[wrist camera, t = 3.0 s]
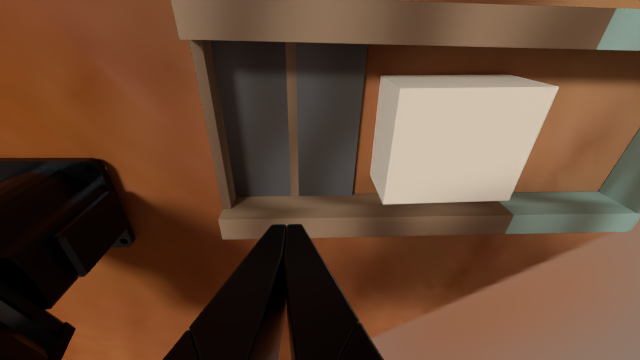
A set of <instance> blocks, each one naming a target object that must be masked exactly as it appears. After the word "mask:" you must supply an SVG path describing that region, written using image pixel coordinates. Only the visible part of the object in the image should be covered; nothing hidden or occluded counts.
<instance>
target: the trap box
mask: <svg viewBox="0 0 640 360" xmlns="http://www.w3.org/2000/svg"><path fill="white" fill-rule="evenodd" d="M171 2H172V7H173V12H174V16H175V21H176V26H177V30H178V35H179V39H188V40H189V41H190V46H191V51H192V56H193V61H194V66H195V72H196V77H197V82H198V87H199V92H200V97H201V102H202V107H203V112H204V117H205V122H206V127H207V132H208V137H209V142H210V147H211V152H212V157H213V162H214V167H215V172H216V177H217V182H218V187H219V192H220V197H221V202H222V208H223V210H222V212H221V214H220V217H219V219H218V221H219V226H220V230H221V235H222V240H224V239H260V238H261V237H262V236H263V235H264V233H265V232H266V231H267V230H268V228H269V227H270V226H271V225H273V224H285V225H286V226H287V225H288V224H302V225H303V227H304V229H305V230H306V232H307V234H308V235H309V237H310V238H328V237H380V236H432V235H484V234H535V233H587V232H629V231H630V230H631V229H632V228H633V227H634V226H635V224H636V223H637V222H638V221H639V219H640V129H639V131H638V132H637V134H636V135H635V137H634V138H633V140H632V141H631V143H630V144H629V146H628V147H627V149H626V150H625V152H624V153H623V155H622V156H621V158H620V160H619V161H618V163H617V164H616V166H615V167H614V169H613V170H612V172H611V173H610V175H609V176H608V178H607V179H606V181H605V182H604V184H603V185H602V187H601V188H600V190H599V191H598V192H513V193H512V195H511V197H510V200H509V201H479V202H447V203H415V204H384V205H383V203H382V201H381V199H380V197H379V194H352V192H353V182H354V173H355V163H356V153H357V144H358V134H359V124H360V115H361V105H362V95H363V85H364V76H365V66H366V56H367V47H368V44H390V45H430V46H471V47H511V48H552V49H592V50H633V51H640V9H622V8H593V7H564V6H535V5H507V4H478V3H449V2H420V1H392V0H171Z"/></svg>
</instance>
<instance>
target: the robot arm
mask: <svg viewBox="0 0 640 360" xmlns="http://www.w3.org/2000/svg"><path fill="white" fill-rule="evenodd" d="M90 165H91V166H93V167H94V168H95V169H93V168H91V166H90ZM134 241H135V236H134V234H133V232H132V229H131V227H130V225H129V222H128V220H127V218H126V215H125V213H124V211H123V209H122V206H121V204H120V202H119V199H118V197H117V195H116V192H115V190H114V188H113V186H112V183H111V181H110V179H109V176H108V174H107V172H106V169H105V167H104V165H103V164H102V162H100V161H99V160H97V159H94V158H0V360H61V359H62V357H63V355H64V353H65V351H66V349H67V346H68V344H69V342H70V340H71V338H72V336H73V334H74V331H75V327H73V326H72V325H70V324H69V323H68V322H65V323H63V322H62V321H60V320H59V319H58V318H56V317H55V316H53V315H52V314H50V313H49V312H48V311H46V310H45V309H51V308H52V307H53V306H54V305H55V303H56V302H57V301H58V300H59V299H60V298H61V297H62V295H63V294H64V293H65V292H66V291H67V290H68V289H69V288H70V286H71V285H72V284H73V283H74V282H75V281H76V280H77V279H78V277H84V276H86V275H87V274H88V273H89V271H90V270H91V269H92V268H93V267H94V266H95V265H96V263H97V262H98V261H99V260H100V259H101V258H102V256H103V255H104V254H105V253H106V252H107V251H108V250H109V248H110V247H129V246H131V245H132V243H133V242H134ZM286 302H287V318H288V329H289V340H290V351H291V360H384V359H383V357H382V356H381V354H380V353H379V351H378V350H377V348H376V347H375V345H374V343H373V342H372V340H371V339H370V337H369V335H368V334H367V332H366V330H365V329H364V327H363V325H362V324H361V323H359V319H358V317H357V316H356V314H355V312H354V311H353V309H352V307H351V306H350V304H349V302H348V301H347V299H346V297H345V296H344V294H343V292H342V290H341V289H340V287H339V285H338V284H337V282H336V280H335V279H334V277H333V275H332V274H331V272H330V270H329V269H328V267H327V265H326V264H325V262H324V260H323V259H322V257H321V255H320V254H319V252H318V250H317V249H316V247H315V245H314V244H313V242H312V240H311V239H310V237H309V235H308V234H307V232H306V230H305V229H304V227H303V225H302V224H288V225H287V226H286V225H285V224H273V225H271V226H270V227H269V228H268V230H267V231H266V232H265V233H264V235H263V236H262V237H261V238H260V240H259V241H258V242H257V243H256V245H255V246H254V247H253V248H252V250H251V251H250V252H249V253H248V255H247V256H246V257H245V258H244V260H243V261H242V262H241V263H240V265H239V266H238V267H237V268H236V270H235V271H234V272H233V273H232V275H231V276H230V277H229V278H228V280H227V281H226V282H225V283H224V285H223V286H222V287H221V288H220V290H219V291H218V292H217V293H216V295H215V296H214V297H213V298H212V300H211V301H210V302H209V303H208V305H207V306H206V307H205V308H204V310H203V311H202V312H201V313H200V314H199V316H198V317H197V318H196V319H195V321H194V322H193V323H192V324H191V326H190V327H189V329H190V331H189V330H187V331H186V332H185V333H184V334H183V335H182V337H181V338H180V339H179V340H178V342H177V343H176V344H175V345H174V347H173V348H172V349H171V350H170V351H169V353H168V354H167V355H166V356H165V357H164V359H163V360H278V357H279V350H280V343H281V337H282V330H283V324H284V317H285V309H286Z"/></svg>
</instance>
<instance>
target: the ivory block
mask: <svg viewBox="0 0 640 360" xmlns="http://www.w3.org/2000/svg"><path fill="white" fill-rule="evenodd" d="M558 89H559V87H558V86H554V85H550V84H546V83H542V82H538V81H534V80H530V79H526V78H522V77H518V76H514V75H510V74H494V75H384V76H381V79H380V88H379V97H378V107H377V116H376V125H375V134H374V143H373V152H372V161H371V170H370V176H371V178H372V181H373V183H374V185H375V187H376V190H377V192H378V194H379V197H380V199H381V201H382V203H383V205H384V204H415V203H447V202H479V201H509V200H510V197H511V195H512V193H513V191H514V188H515V186H516V184H517V181H518V179H519V177H520V175H521V172H522V170H523V168H524V166H525V163H526V161H527V159H528V157H529V154H530V152H531V150H532V147H533V145H534V143H535V141H536V138H537V136H538V134H539V132H540V129H541V127H542V125H543V123H544V120H545V118H546V116H547V113H548V111H549V109H550V107H551V104H552V102H553V100H554V98H555V95H556V93H557V91H558Z"/></svg>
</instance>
